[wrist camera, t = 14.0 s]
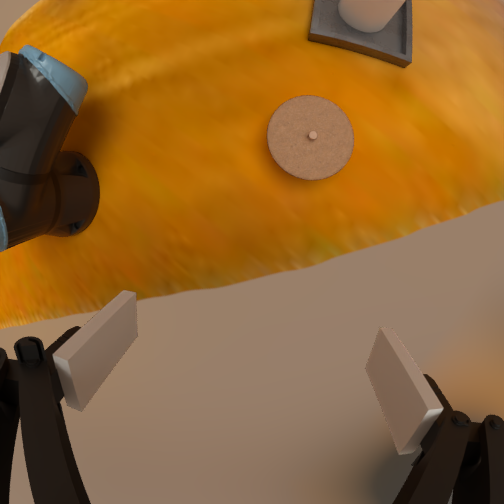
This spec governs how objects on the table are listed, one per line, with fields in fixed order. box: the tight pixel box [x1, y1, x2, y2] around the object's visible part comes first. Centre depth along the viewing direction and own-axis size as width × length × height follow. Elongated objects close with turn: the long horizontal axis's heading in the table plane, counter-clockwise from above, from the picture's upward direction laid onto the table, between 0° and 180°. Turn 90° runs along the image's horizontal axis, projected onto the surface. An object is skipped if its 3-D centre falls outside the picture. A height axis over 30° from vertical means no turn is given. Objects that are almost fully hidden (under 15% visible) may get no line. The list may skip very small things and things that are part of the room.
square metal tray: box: [308, 0, 412, 68], centre depth 33 cm, size 16×16×3 cm
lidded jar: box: [267, 95, 354, 180], centre depth 37 cm, size 11×11×9 cm
